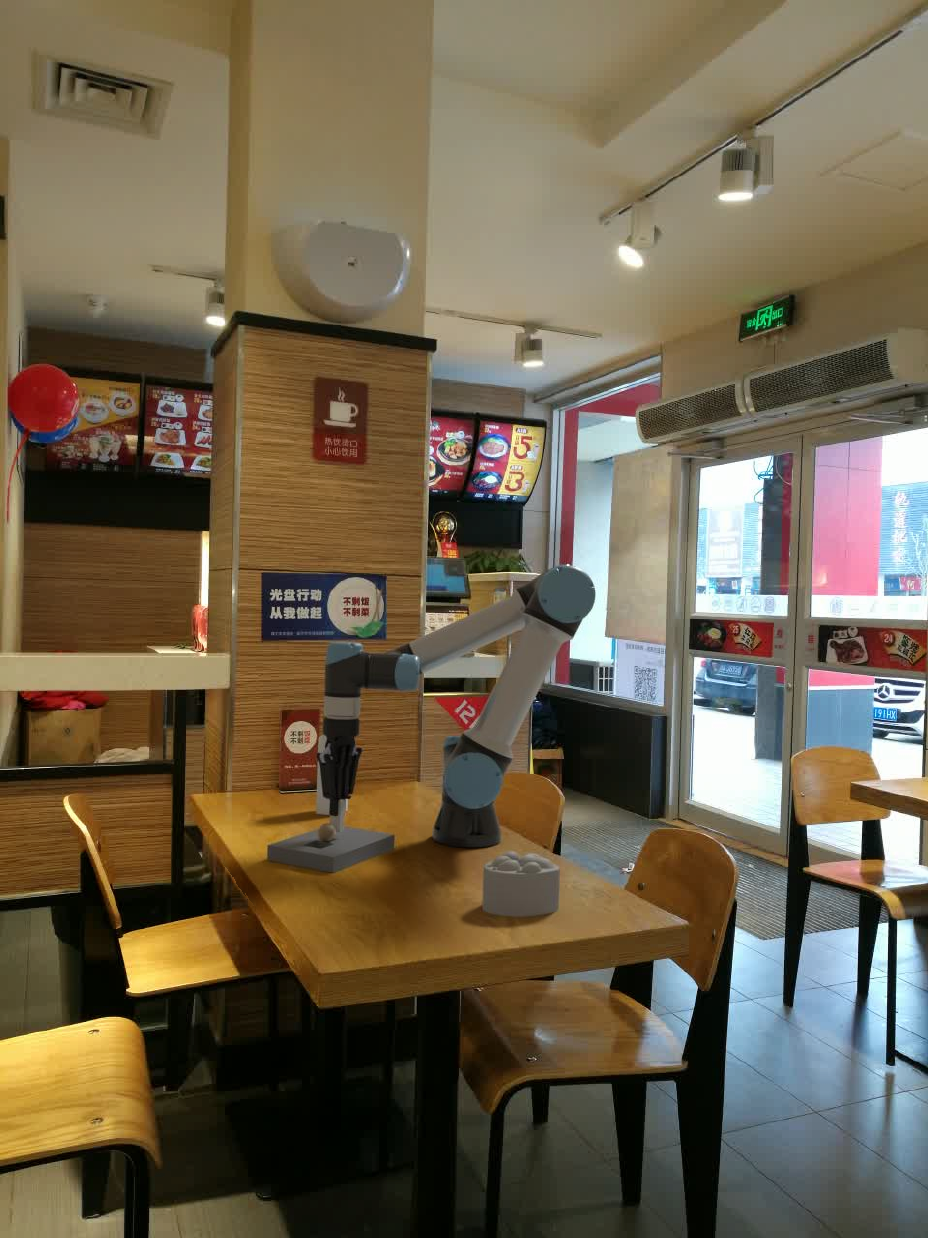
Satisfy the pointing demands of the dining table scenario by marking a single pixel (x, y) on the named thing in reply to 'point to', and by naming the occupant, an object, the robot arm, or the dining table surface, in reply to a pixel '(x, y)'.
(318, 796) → the milk
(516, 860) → the lumpy-topped squat cylinder
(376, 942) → the dining table surface
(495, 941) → the dining table surface
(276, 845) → the pocket board
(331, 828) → the wooden ball
